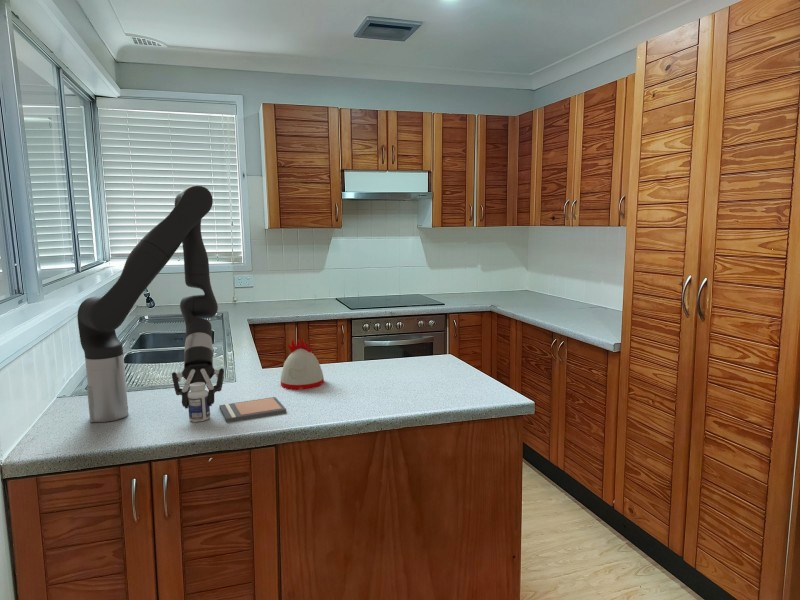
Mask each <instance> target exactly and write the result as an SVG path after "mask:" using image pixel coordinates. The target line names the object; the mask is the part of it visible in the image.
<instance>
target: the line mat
mask: <svg viewBox="0 0 800 600" xmlns="http://www.w3.org/2000/svg"><path fill="white" fill-rule="evenodd" d="M218 405H219V407H218V408H219V411H220V412H221V415H222V416H223V418H224V421H225V422H226V423H231V422H238V421H242V420H243V421H244V420H249V419H250V420H251V419H256V418H261V417H268V416H274V415H275V416H276V415H281V414H287V408H286V407H285V406H284V405H283V404H282V403H281V401H280V400H279V399H278V398H277V397H276V396H272V397H265V398H258V399H251V400H245V401H239V402H234V403H233V402H232V403H225V404H224V403H223V404H218Z"/></svg>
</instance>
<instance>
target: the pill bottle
mask: <svg viewBox="0 0 800 600" xmlns="http://www.w3.org/2000/svg"><path fill="white" fill-rule="evenodd" d="M206 388H207V387H206V385H205V383H204V382H195V383H192V384H190V391H189V393H188V408H187V409H188V420H189V421H191V422H193V423H200V422H205V421H207V420H209V419H210V418H211V408H210V407H211V406H209V402H208V391H209V390H208V389H206Z"/></svg>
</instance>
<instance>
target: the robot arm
mask: <svg viewBox="0 0 800 600" xmlns="http://www.w3.org/2000/svg"><path fill="white" fill-rule="evenodd" d="M213 201H214V199H213V195H212V193H211V191H210V190H209V189H208V188H207V187H205V186H202V185H197V184H196V185H190V186H188V187H186V188H185V189H183V190H181V191H179V192H178V194H177V195H176V196H175V199H174V207H173V208H172V210H171V211H170V213H168V215H167V216H165V218H163V219H162V220H161V221H160V222H158V224H156V225H155V226H154V227H152V228H151V229H150V230H149V232H147V233H146V234H145V235H144V236H143V237H142V238H141V239H140V241H138V243H137V244H136V245H135V247H134V248H133V249H132V250H131V252H130V253H129V254H128V256H127V258H126V261H125V262H124V266H123V269H122V272H121V274H120V276H119V277H118V279H117V280H116V282H115V283H114V285H112V286H111V288H110V289H109V290H108V291H107V292H106V293H105V294H104V295H102V296H90V297H87V298H86V299H85V300H83V301H82V302H81V303H80V304H79V307H78V309H77V327H78V332H79V339H80V340H79V341H80V346H81V348H82V350H83V353H84V361H85V370H86V371H85V372H86V382H87V383H86V384H87V388H86V392H87V402H88V413H89V422H90V423H106V422H107V423H108V422H115V421H117V420H120V419H123V418H126V417H127V416H129V405H128V404H129V403H128V392H127V381H126V369H125V360H124V347H123V343H121V341H120V340H119V339H118V336H117V334H116V330H117V329H118V328H119V327H120V326H121V325H122V324H123V323H124V322H125V320H126V319H127V317H128V315H129V313H130V312H131V310H132V309H133V307H134V306H135V304H136V303H137V301H138V299H139V298H140V297H141V295H142V294H143V293H144V292H145V291H146V289H147V288H148V287H149V286H150V285H151V283H152V282H153V280H154V279H155V278H156V277H157V276H158V275H159V273H160V272H161V271H162V270H163V268H164V267H165V266H166V265H167V264H168V262H169V261H170V260H171V258H172V257H173V256H174V254H176V251H177V250H178V249H179V247H180V246H181V245H182V252H183V267H184V269H183V271H184V283H185V285H186V286H187V287H189V288H195V289H200V290H201V291H203V293H204V294H192V295H185V296H184V297H182V299H181V300H180V303H179V309H180V312H181V314H182V317H183V320H184V324H185V342H184V355H183V356H184V360H183V361H184V363H183V370H182V371H181V372H174V371H172V373H171V378H172V382H173V383H172V384H173V388H174V392H175V394H176V396H181V404H182V407H183V408H184V409H188V393H189V392H191V390H190V384H192V383H195V382H204V383H205V386H206V387H205V388H206V390H207V391H208V402H209V406H210V407H213V405H214V404H215V393H217V392H221V391H222V389H223V383H224V379H225V369H224V368H222V367H221V368H219V369H215V368H214V363H213V361H214V358H213V357H214V355H213V354H214V349H213V339H212V338H213V337H212V336H213V335H212V333H213V332H212V323H211V322H210V321H209V320H208V319H210V318H213V317H215V316H216V315H217V313H218V310H219V307H218V305H219V304H218V302H217V300H216V297H215V294H214V291H213V288H212V285H211V284H212V283H211V278H210V277H211V276H210V263H209V256H208V252H207V250H206V247H205V245H204V241H203V236H202V229H201V228H202V219H203V218H204V217H206V215H207V214H208V213H209V212H210V211H211V209H212V208H213ZM214 375H215V377H216V379H217V380H216V385H213V383H212V381H211V379H212V378H213V376H214ZM182 378H183V379H184V380H185V382H184V385H183V387H182V388H181V387H180V383H179V382H181V380H182Z"/></svg>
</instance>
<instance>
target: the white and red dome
mask: <svg viewBox="0 0 800 600" xmlns="http://www.w3.org/2000/svg"><path fill="white" fill-rule="evenodd" d="M300 343H301V344H300ZM287 346H288V348H289V350H290V354H289V355H288V357H287V358H286V359H285V360H284V361H283V367H282V370H281V373H280V374H281V375H280V387H281V386H282V388H283V389H285V388H286V389H285V390H290V389H292V390H293V391H302V390H310V389H311V390H312V389H315V388H319V387H321V386H323V385H324V383H325V381H324V373H323V370H322V367H321V364H320V362H319V360H318V358H317V357H316V356H315V354H314V353H312V350H313V348H314V346H313V345H312V346H311V347H310V348H309V341H307V343H306V344H305V340H304V338H302V340H301V342H300V339H299V338H298V339H297V341H296V342H295V340H294V339H291V344H290V343H288V342H287Z"/></svg>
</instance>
